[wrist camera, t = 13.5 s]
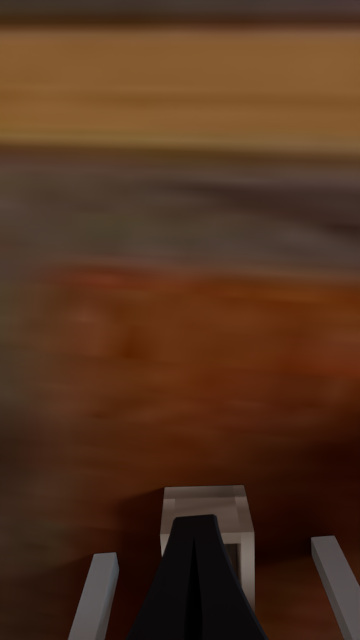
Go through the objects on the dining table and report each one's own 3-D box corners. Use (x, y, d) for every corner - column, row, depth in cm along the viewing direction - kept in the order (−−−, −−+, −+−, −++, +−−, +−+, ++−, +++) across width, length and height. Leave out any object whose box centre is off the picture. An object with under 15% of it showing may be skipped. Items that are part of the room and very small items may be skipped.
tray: (164, 487, 21) (159, 542, 17) (243, 485, 21) (256, 540, 17) (176, 630, 24) (173, 706, 20) (245, 629, 24) (257, 706, 20)
